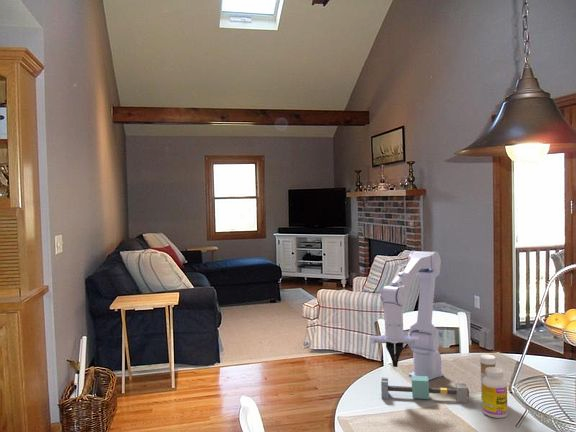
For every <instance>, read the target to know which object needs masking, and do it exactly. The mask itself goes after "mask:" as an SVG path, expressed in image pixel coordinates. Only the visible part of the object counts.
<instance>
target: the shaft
mask: <svg viewBox="0 0 576 432" xmlns="http://www.w3.org/2000/svg"><path fill="white" fill-rule="evenodd" d="M388 392H400V393H401V392H405V393H412V386H403V385H402V386H399V385H388ZM429 394H438V395H439V394H440V395H456V394H457V390H456V388H447V387H429Z"/></svg>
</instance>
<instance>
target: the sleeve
mask: <svg viewBox="0 0 576 432" xmlns="http://www.w3.org/2000/svg"><path fill="white" fill-rule="evenodd" d="M429 381H430V380H428V376H411V387H412V392H411V395H412V399H422V400H423V399H424V400H429V399H430V393H429V388H430V382H429Z"/></svg>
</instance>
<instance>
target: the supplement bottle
mask: <svg viewBox="0 0 576 432" xmlns="http://www.w3.org/2000/svg"><path fill="white" fill-rule="evenodd" d="M485 373H486V376H485V377H484V378H483V379H482V391H481V396H482V398H481V400H482V403H481V405H482V412H483V414H485V415H486V416H488V417H490V418H495V419H502V418H505V417H507V415H508V382H507V380H506V379H505V378H504V377H503V376H504V369H502V368H500V367H496V366H495V367H488V368H486V369H485Z"/></svg>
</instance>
